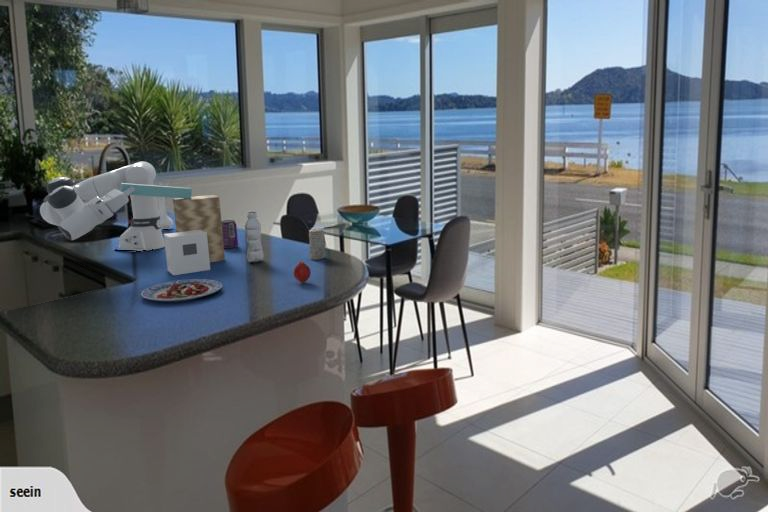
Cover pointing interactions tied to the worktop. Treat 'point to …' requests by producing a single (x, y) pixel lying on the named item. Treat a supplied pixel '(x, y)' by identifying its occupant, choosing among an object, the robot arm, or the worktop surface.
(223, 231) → the beverage can
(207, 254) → the white box
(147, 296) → the ceramic plate
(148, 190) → the teal block
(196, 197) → the oak stand
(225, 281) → the worktop surface
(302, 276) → the red pomegranate
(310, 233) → the carving
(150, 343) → the worktop surface
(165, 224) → the flower vase
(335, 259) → the worktop surface
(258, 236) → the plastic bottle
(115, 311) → the worktop surface
